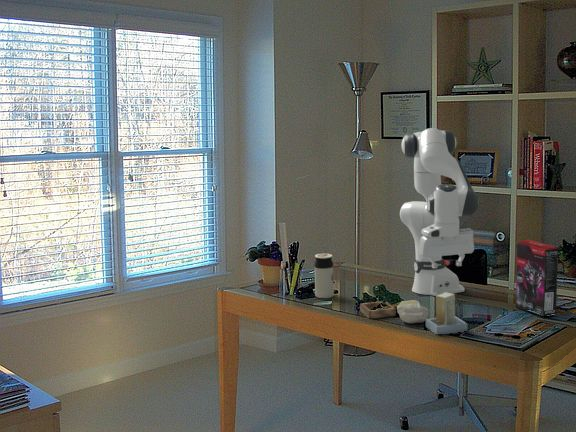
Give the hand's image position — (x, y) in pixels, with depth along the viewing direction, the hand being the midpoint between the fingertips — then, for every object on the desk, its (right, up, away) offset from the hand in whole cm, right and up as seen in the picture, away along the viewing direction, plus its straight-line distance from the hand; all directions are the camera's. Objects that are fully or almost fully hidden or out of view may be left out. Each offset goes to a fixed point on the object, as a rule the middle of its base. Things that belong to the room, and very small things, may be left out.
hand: (446, 266), depth 286 cm
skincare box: (0, -22, +4) cm, 23 cm away
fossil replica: (-10, -22, +14) cm, 28 cm away
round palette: (+24, -24, -2) cm, 34 cm away
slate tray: (+1, -23, +4) cm, 24 cm away
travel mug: (-42, -16, +53) cm, 70 cm away
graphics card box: (+39, -19, +22) cm, 49 cm away
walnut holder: (-22, -20, +26) cm, 40 cm away
